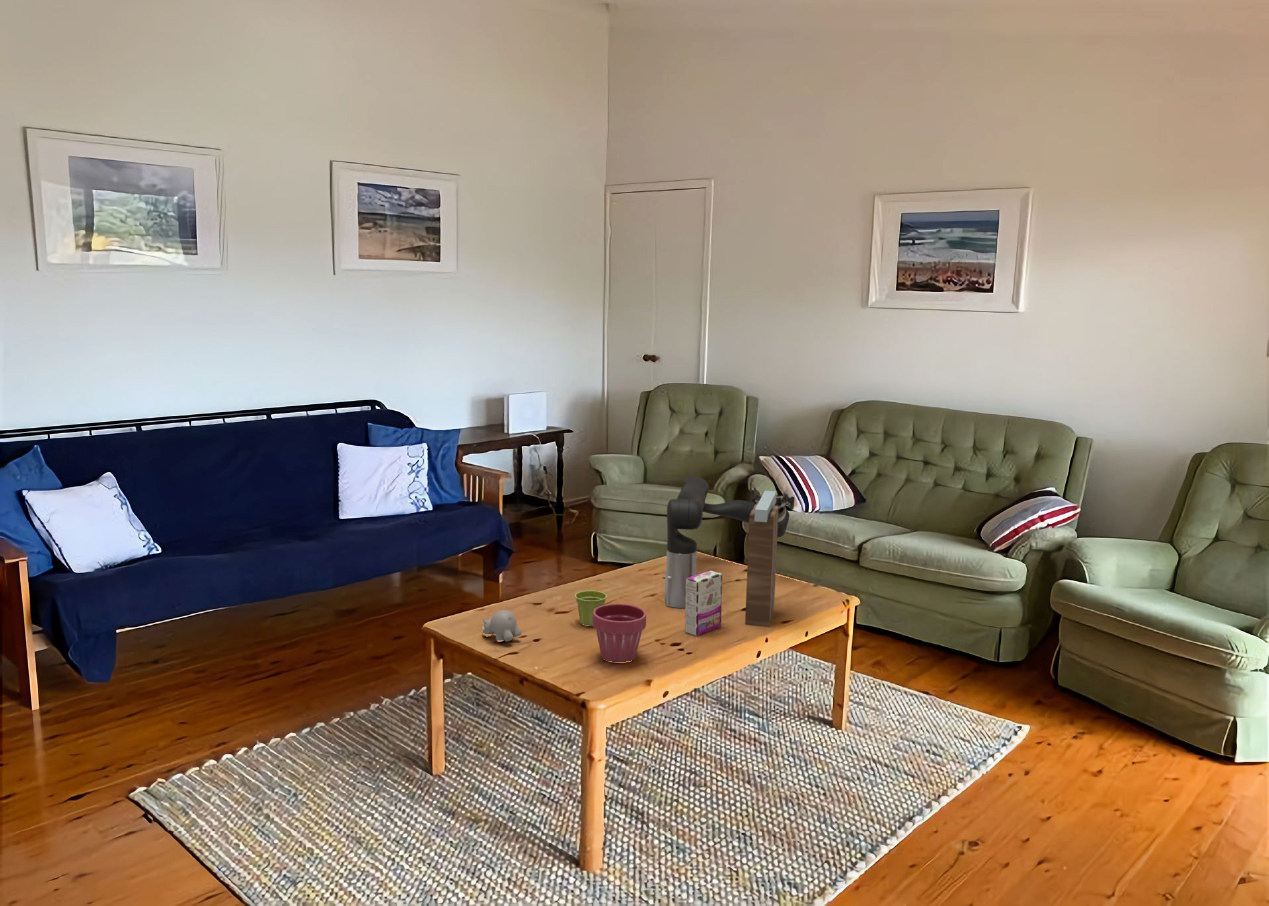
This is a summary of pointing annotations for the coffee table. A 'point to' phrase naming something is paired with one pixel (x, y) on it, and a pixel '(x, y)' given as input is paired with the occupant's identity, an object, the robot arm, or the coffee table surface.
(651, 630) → the coffee table surface
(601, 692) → the coffee table surface
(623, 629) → the plant pot
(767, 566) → the post
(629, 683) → the coffee table surface
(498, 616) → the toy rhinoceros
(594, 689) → the coffee table surface
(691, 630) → the candy bar box
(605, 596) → the plant pot
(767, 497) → the rail
